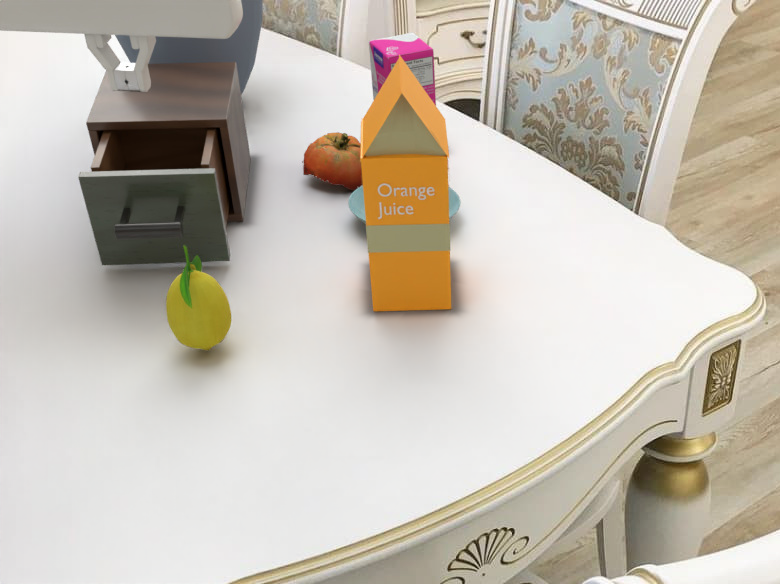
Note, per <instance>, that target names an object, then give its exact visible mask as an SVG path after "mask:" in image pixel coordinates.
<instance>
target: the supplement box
mask: <svg viewBox="0 0 780 584" xmlns="http://www.w3.org/2000/svg"><path fill="white" fill-rule="evenodd" d="M368 49H369V61H370V62H369V63H370V73H371V88H372V97H373V98H372V99H373V101H374V99H375V98H376V96H377V94H378V93H379V91H380V89H381V87H382V86H383V84H384V82H385V81H386V79H387V77H388V76H389V74H390V72H391V71H392V69H393V67H394V65H395V64H396V62H397V60H398V59H399V55H400V56H401V57H402V59H403V60H404V62H405V63H406V65H407V66H408V67H409V69H410V70H411V72H412V73H413V74H414V76H415V77H416V79H417V80H418V81H419V83H420V84H421V86H422V87H423V89H424V90H425V91H426V93H427V94H428V96H429V97H430V98H431V100H432V101H433V103H434V104H435V105H436V106H437V100H436V96H437V95H436V78H435V75H436V74H435V53H434V48H433V47H431V46H430V45H429V44H427V42H425V41H424V40H423V39H421V38H420V37H419V36H418V35H417V34H416V33H414V32H407V33H403V34H398V35H393V36H387V37H382V38H375V39H370V40H368Z"/></svg>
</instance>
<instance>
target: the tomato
mask: <svg viewBox="0 0 780 584" xmlns="http://www.w3.org/2000/svg"><path fill="white" fill-rule="evenodd" d="M360 144H361V141H359V140H358V138H357V137H355V136H353V135H348V133H347V132H343V133H342V132H338V131H337V132H328V133H326V134H323V135H322V136H320V137H317V138H316V139H315V140H314V141H312V142H311V143H309V144H308V146H307V148H306V150H305V151H304V152H303V160H302V161H301V162H302V163H303V168H302V169H303V176H309V175H310V176H313V177H314V178H316V179H317V180H319V179H320V181H321V182H323V183H326V182H327V183H328V184H331V185H332V186H335V185H336V186H343V187H344V188H346V189H348V190H350V191H355V190H356V189H358V188H359V187H360V186H362V185H363V184H362V183H363V180H362V168H361V161H360Z"/></svg>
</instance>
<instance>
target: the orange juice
mask: <svg viewBox="0 0 780 584" xmlns="http://www.w3.org/2000/svg"><path fill="white" fill-rule="evenodd" d="M447 133H448V132H447V121H446V118H445V116H444V115H443V114H442V113H441V111H440V110H439V108H438V107H437V104H436V105H435V104H434V103H433V101H432V100H431V98H430V97H429V96H428V94H427V93H426V91H425V90H424V89H423V87H422V86H421V84H420V83H419V81H418V80H417V79H416V77H415V76H414V74H413V73H412V72H411V70H410V69H409V67H408V66H407V65H406V63H405V62H404V60H403V59H402V57H401V56H400V55H399V59H398V60H397V62H396V64H395V65H394V67H393V69H392V71H391V72H390V74H389V76H388V77H387V79H386V81H385V82H384V84H383V86H382V87H381V89H380V91H379V93H378V94H377V96H376V98H375V99H374V100H373V101H372V103H371V104H370V106H369V108H368V110H367V111H366V112H365V114H364V116H363V117H362V118H361V121H360V161H361V168H362V180H363V183H362V184H363V186H362V187H363V192H364V205H365V217H366V224H365V234H366V246H367V253H368V265H369V277H370V278H369V279H370V288H371V289H370V290H371V301H372V311H373V312H400V311H401V312H404V311H437V310H439V311H441V310H452V275H451V273H452V272H451V271H452V270H451V223H450V219H449V195H450V194H449V191H448V187H449V182H451V181H450V179H449V177H450V176H451V174H450V167H449V166H450V165H449V159H450V151H449V141H448V134H447ZM449 190H450V189H449Z"/></svg>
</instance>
